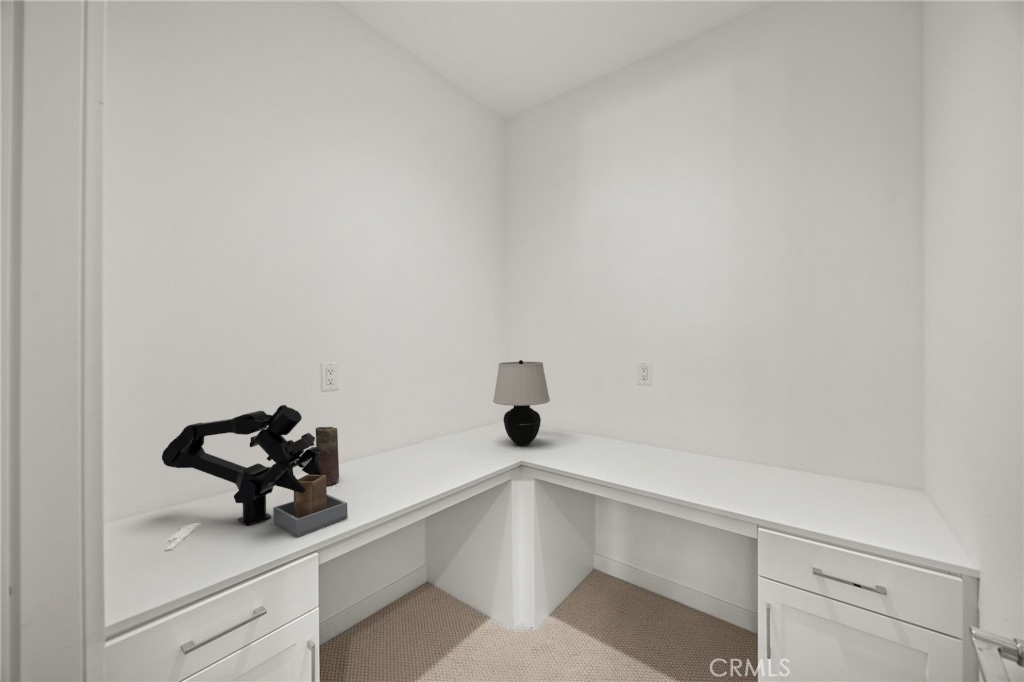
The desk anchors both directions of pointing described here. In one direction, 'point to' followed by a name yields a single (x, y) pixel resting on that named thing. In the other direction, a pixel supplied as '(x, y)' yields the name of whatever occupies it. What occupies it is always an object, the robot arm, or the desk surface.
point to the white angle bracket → (181, 535)
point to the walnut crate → (311, 496)
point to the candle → (328, 453)
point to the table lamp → (521, 398)
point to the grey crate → (309, 517)
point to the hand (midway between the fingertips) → (313, 486)
